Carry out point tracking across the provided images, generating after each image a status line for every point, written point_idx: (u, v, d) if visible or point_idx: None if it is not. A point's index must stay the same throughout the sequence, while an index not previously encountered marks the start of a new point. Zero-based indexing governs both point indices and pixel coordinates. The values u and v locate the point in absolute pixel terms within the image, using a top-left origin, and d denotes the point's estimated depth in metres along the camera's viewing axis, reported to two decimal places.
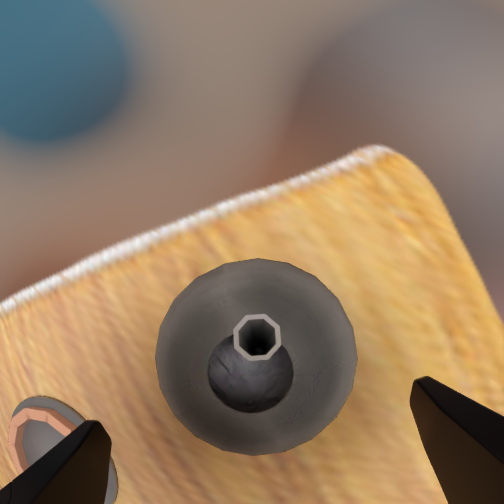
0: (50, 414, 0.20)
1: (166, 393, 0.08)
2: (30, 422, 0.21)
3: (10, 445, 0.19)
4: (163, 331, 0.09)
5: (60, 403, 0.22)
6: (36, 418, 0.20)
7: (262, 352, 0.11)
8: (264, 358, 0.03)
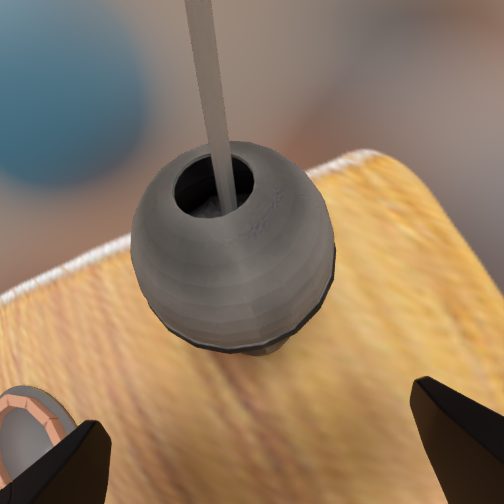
0: (30, 400, 0.18)
1: (134, 241, 0.09)
2: (10, 413, 0.19)
3: None
4: (143, 192, 0.10)
5: (43, 392, 0.20)
6: (16, 404, 0.18)
7: None
8: None
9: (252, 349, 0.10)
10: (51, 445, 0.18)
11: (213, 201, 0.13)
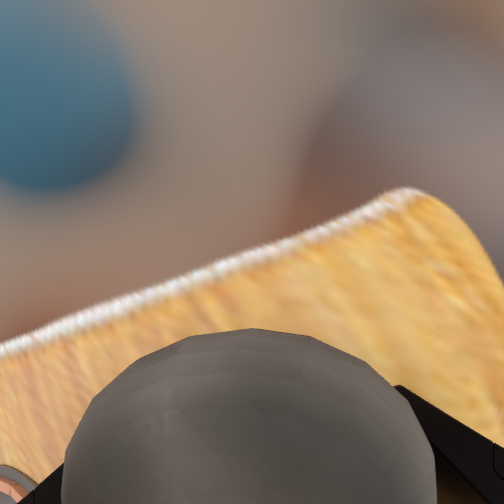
0: (13, 489, 0.12)
1: None
2: None
3: None
4: (67, 448, 0.04)
5: (26, 478, 0.14)
6: None
7: None
8: None
9: None
10: None
11: None
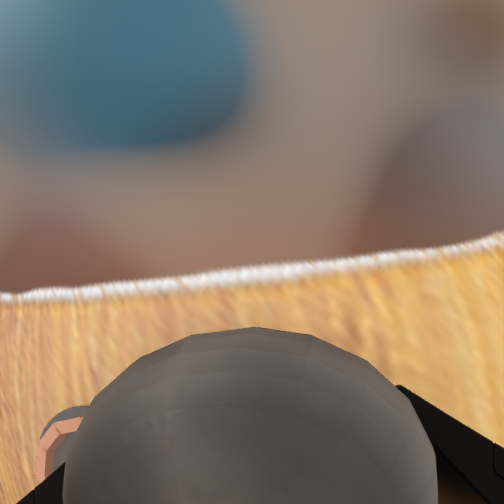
0: None
1: None
2: None
3: (39, 449, 0.17)
4: (68, 447, 0.04)
5: None
6: None
7: None
8: None
9: None
10: None
11: None
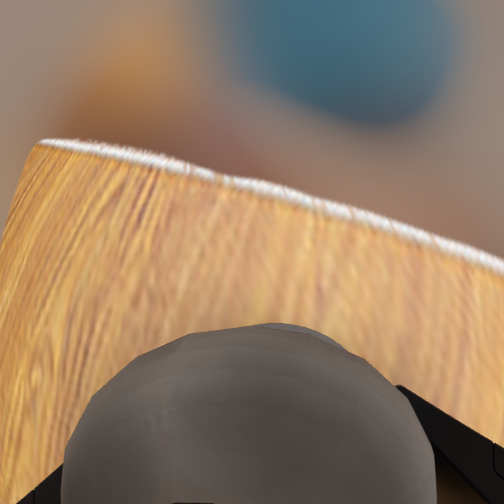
0: None
1: None
2: None
3: None
4: None
5: None
6: None
7: None
8: None
9: None
10: None
11: None
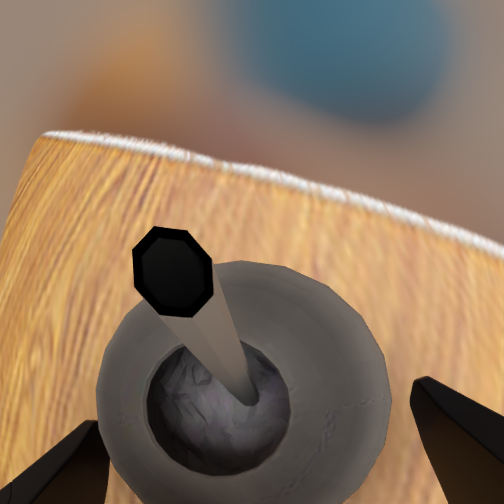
0: None
1: (101, 435, 0.05)
2: None
3: None
4: (106, 347, 0.06)
5: None
6: None
7: None
8: None
9: None
10: None
11: None
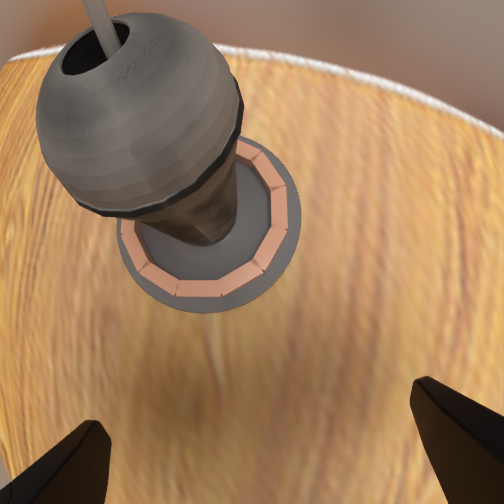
0: (265, 155, 0.21)
1: (36, 119, 0.07)
2: None
3: None
4: None
5: None
6: None
7: None
8: None
9: (154, 210, 0.09)
10: (252, 214, 0.21)
11: None
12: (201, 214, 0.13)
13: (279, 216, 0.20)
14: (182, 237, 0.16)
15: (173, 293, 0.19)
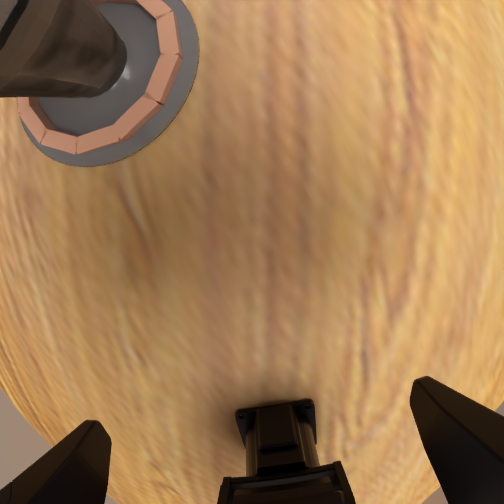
0: None
1: None
2: None
3: None
4: None
5: None
6: None
7: None
8: None
9: None
10: (143, 48, 0.15)
11: None
12: (52, 65, 0.09)
13: (168, 42, 0.14)
14: (57, 94, 0.11)
15: (74, 152, 0.16)
